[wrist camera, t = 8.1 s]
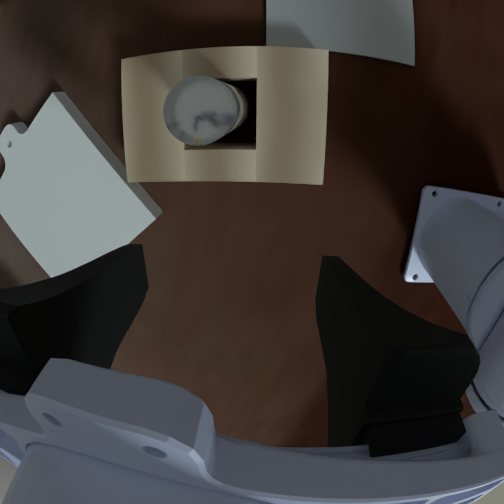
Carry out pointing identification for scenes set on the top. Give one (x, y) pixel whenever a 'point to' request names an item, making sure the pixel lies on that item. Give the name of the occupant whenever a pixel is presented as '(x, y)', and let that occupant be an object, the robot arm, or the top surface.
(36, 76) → the top surface
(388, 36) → the mat
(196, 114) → the peg
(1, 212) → the mounting plate
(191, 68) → the hole block
